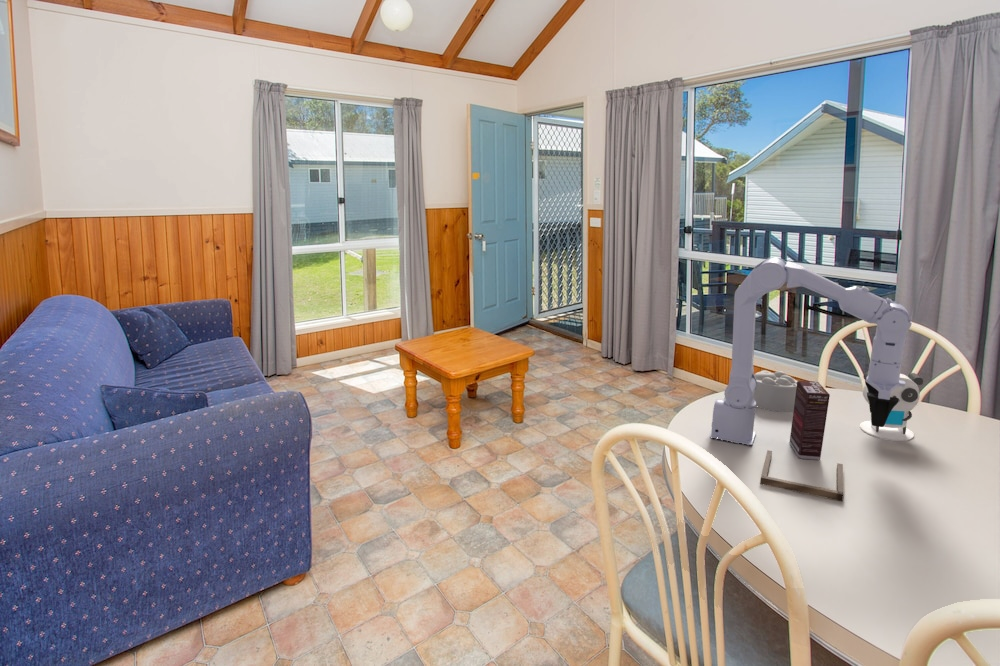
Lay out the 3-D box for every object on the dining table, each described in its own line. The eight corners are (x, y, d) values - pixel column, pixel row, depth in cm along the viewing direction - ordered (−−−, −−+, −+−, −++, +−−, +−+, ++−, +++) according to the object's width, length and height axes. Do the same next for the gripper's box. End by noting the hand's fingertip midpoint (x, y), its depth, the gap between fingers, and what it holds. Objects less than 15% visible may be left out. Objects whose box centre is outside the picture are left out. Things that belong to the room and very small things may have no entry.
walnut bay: (760, 483, 124) (760, 477, 124) (766, 456, 136) (767, 450, 136) (842, 501, 117) (843, 494, 117) (841, 470, 129) (842, 464, 129)
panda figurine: (865, 438, 144) (874, 380, 140) (850, 419, 155) (858, 365, 151) (921, 443, 141) (932, 383, 137) (902, 423, 152) (912, 367, 148)
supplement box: (821, 460, 134) (831, 394, 129) (798, 459, 134) (806, 393, 130) (810, 443, 142) (818, 381, 138) (788, 442, 143) (796, 379, 138)
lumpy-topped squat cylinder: (758, 393, 174) (761, 365, 172) (804, 405, 165) (808, 375, 162) (741, 402, 167) (744, 373, 165) (788, 415, 158) (792, 385, 156)
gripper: (912, 372, 119) (901, 435, 122) (905, 353, 131) (895, 410, 135) (871, 367, 122) (861, 429, 126) (867, 349, 134) (859, 405, 138)
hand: (876, 419), depth 130 cm, fingers open, 7 cm apart
